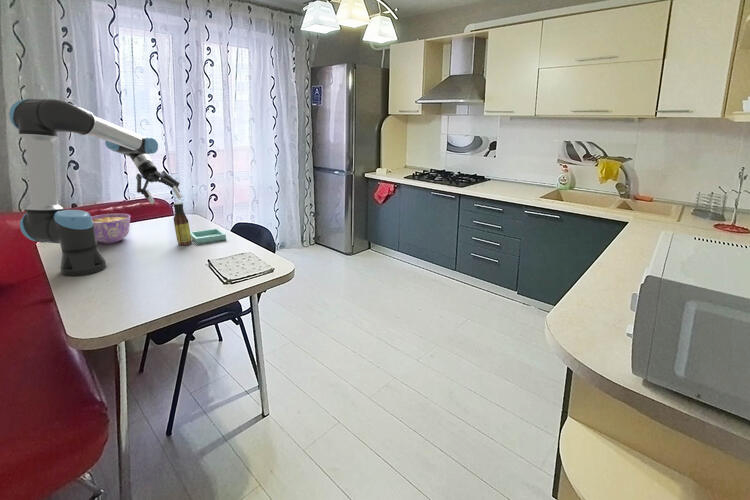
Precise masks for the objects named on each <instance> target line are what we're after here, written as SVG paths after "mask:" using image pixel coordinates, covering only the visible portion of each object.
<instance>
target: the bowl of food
mask: <svg viewBox="0 0 750 500" xmlns="http://www.w3.org/2000/svg"><path fill="white" fill-rule="evenodd" d="M91 218H92V221H93V224H94V230H95V236H96V241H97V243H101V244H106V245H107V244H115V243H118V242H121V240H123V239H124V238H126V237H127V236H128V235H129V233H130V223H131V215H130V214H128V213H106V214H105V213H103V214H98V215H93V216H92V215H91Z"/></svg>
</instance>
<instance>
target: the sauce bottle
mask: <svg viewBox="0 0 750 500" xmlns="http://www.w3.org/2000/svg"><path fill="white" fill-rule="evenodd" d="M173 208H174V216H173V223H174V224H173V225H174V229H175V236H176V242H177V244H178V246H185V247H186V246H189V244H190V245H191V244H192V242H193V241H192V240H191V234H190V232H191V228H190V224H189V222H190V221H189V219H188V218H187V215H186V213H185V211H184V203H183V202H175V203H173Z"/></svg>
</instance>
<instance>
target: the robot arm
mask: <svg viewBox="0 0 750 500" xmlns="http://www.w3.org/2000/svg"><path fill="white" fill-rule="evenodd" d="M8 116H9V120H10V122H11V124H12V125H13V126H14V128H16V129H17V130H18V136H19V137H21V138H22V139H23V140H24V143H25V144H24V146H25V156H26V167H27V179H28V188H29V189H28V190H29V200H30V201H29V202H30V204H29V205H28V206H27V207H26V208H25V211H26V212H25V214H23V215H22V218H20V221H19V229H20V231H21V233H22V234H23V236H24V237H25V238H27V239H28V240H30V241H32V242H37V243H42V244H43V243H44V244H45V243H48V244H49V243H50V244H60V249H61V252H62V253H61V254H62V255H61V261H60V266H59V269H60V273H61V275H62V276H66V277H79V276H87V275H92V274H95V273H98V272H100V271H103V270H105V269H106V268H107V261H106V259H105V257H104V256H103V254H102V253H101V250H99V248H98V241H96V236H95V230H94V224H93V221H92V218H91V216H92V215H91V213H90V212H88V211H85V210H83V209H82V210H80V209H65V208H64V207H63V206H61V205H60V204H59V195H58V184H57V183H58V182H57V172H56V171H57V170H56V158H55V157H56V156H55V145H54V143H55V141H56V140H57V139H59V136H58V135H59V134H58V132H59V133H60V132H61V133H62V132H65V133H75V134H77V135H80V136H87V135H88V136H92V137H94V138H98V139H101V140H103V141H105V142H104V144H105V147H106V149H109V150H110V151H112V152H116V153H119V154H122V155H125V156H127V157H130V159H131V160H132V162H133V163H134V165H135V167H136V169H137V170H138V172H139V173H137V174H136V176H135V179H136V182H137V183H136V192H137V194H141V195H143V196H144V198H146V199H147V200H148V201H149V203H150V204H151V205H154V202H155V198H153V196H152V194H151V193H150V191H149V189H147V187H148V184H149V183H157V182H158V183H162V184H164V185H166V186H167V187H170V188H171V189H172V192H173V193H174V196H176V198H177V199H178V201H179V200H181V199H182V197H183V196H182V194H181V193H180V191H181V190H180V189H179V186H180V185H181V184H180V182H178V181H177V180H176V179H174V177H173V176H171V175H169V174H168V173H167V172H166V171H165V170H162V172H161V171H158V168H157V167H156V165H155V163H154V162H153V161H152V158H150V156H149V154H152V155H153V154H155V153H157V152H158V150H159V142H158V141H157V139H156V138H155V137H153V136H143V135H141V134H139V133H136V132H133V131H131V130H128V129H126V128H124V127H120V126H118V125H116V124H114V123H111V122H109V121H107V120H105V119H102V118H100V117H97V116H95V115H94V114H93V112H91V111H89V110H87V109H85V108H82V107H80V106H78V105H75V104H73V103H69V102H66V101H64V100H60V99H55V98H54V99H53V98H51V99H50V98H49V99H46V98H44V99H43V98H26V99H19V100H17V101H15V102H14V103H13V104H12V105H11V106H10V109H9V113H8ZM142 179H144V180H145V183H144V185H143V187H142Z"/></svg>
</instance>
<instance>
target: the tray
mask: <svg viewBox="0 0 750 500" xmlns="http://www.w3.org/2000/svg"><path fill="white" fill-rule="evenodd" d="M190 234H191V239H192V240H193V241H194V242H195V243H196V244H199V245H204V244H203V243H205V244H210V243H209V242H212V243H217V242H216V241H218V242H222V241H221V240H225V241H227V235H226V233H224V232H223V231H222V230H220V229H219V228H211V229H203V230H196V231H190ZM192 240H191V241H192ZM193 241H192V242H193ZM194 242H193V243H194ZM195 243H194V244H195ZM196 244H195V245H196Z"/></svg>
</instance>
